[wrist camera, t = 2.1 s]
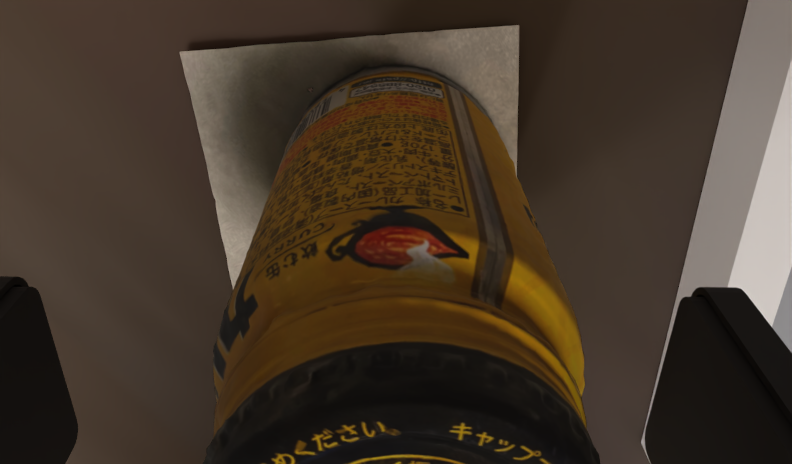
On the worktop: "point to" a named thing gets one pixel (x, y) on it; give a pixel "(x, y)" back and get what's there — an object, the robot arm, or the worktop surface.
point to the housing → (749, 179)
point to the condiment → (383, 257)
